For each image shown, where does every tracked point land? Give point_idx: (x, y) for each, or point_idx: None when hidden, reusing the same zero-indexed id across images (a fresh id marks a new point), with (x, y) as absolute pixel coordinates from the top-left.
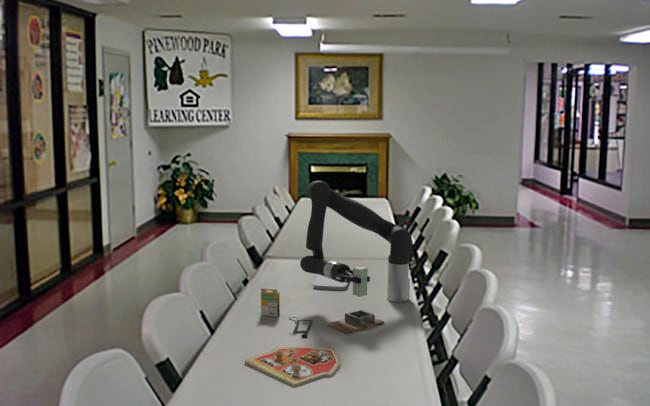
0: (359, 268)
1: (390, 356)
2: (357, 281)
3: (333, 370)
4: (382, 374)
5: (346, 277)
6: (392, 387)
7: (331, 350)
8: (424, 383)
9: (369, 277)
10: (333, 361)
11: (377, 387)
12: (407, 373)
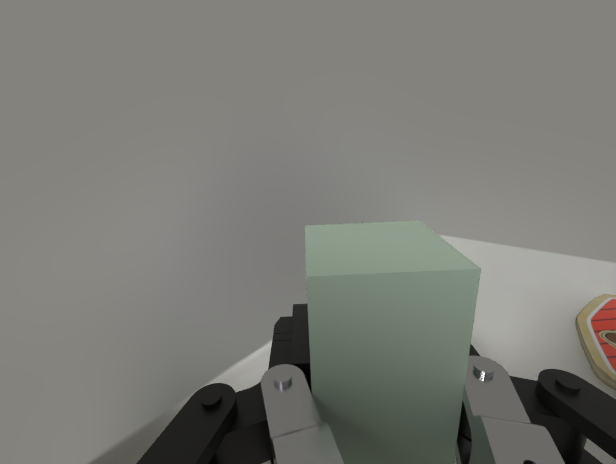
0: (402, 236)
1: None
2: None
3: (598, 300)
4: None
5: (596, 398)
6: (475, 254)
7: (614, 372)
8: None
9: (299, 306)
10: (600, 325)
11: (502, 259)
12: None
